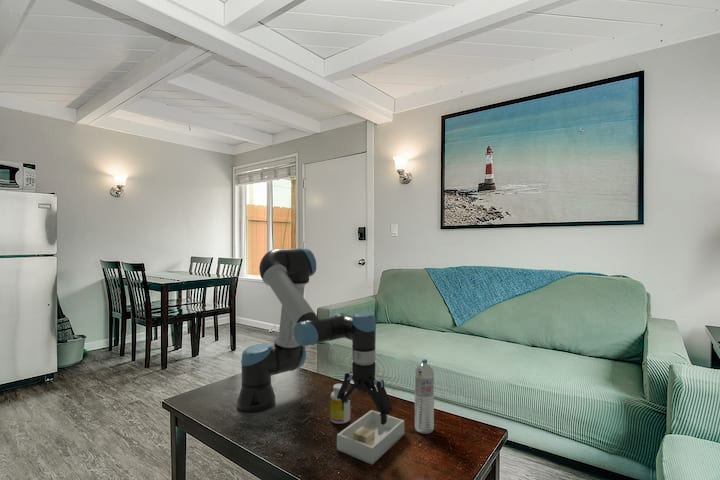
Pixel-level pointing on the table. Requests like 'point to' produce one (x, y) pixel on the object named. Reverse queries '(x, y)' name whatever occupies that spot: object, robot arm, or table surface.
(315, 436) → the table surface
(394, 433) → the tote
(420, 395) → the water bottle
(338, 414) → the supplement bottle
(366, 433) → the maple cube
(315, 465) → the table surface
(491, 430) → the table surface
